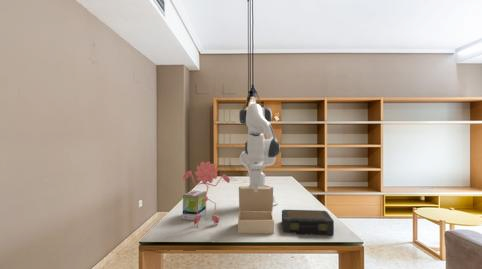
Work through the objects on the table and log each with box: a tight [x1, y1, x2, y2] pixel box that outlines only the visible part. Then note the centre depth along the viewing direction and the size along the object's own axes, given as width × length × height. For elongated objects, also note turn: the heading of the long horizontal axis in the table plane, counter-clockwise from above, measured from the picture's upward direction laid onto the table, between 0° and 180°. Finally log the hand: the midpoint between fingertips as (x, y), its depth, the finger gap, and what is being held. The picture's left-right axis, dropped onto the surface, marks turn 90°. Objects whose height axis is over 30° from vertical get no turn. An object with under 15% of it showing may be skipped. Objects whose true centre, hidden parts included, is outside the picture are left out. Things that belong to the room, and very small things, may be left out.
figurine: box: [182, 161, 231, 228], centre depth 158 cm, size 15×26×35 cm, turn 95°
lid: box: [238, 185, 274, 213], centre depth 153 cm, size 18×17×3 cm
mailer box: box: [237, 211, 275, 234], centre depth 149 cm, size 18×16×7 cm
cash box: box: [281, 209, 335, 236], centre depth 150 cm, size 25×20×8 cm
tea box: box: [182, 190, 207, 221], centre depth 172 cm, size 15×10×15 cm, turn 168°
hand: (255, 191), depth 143 cm, fingers closed
